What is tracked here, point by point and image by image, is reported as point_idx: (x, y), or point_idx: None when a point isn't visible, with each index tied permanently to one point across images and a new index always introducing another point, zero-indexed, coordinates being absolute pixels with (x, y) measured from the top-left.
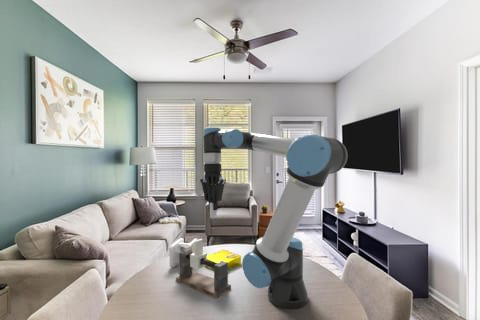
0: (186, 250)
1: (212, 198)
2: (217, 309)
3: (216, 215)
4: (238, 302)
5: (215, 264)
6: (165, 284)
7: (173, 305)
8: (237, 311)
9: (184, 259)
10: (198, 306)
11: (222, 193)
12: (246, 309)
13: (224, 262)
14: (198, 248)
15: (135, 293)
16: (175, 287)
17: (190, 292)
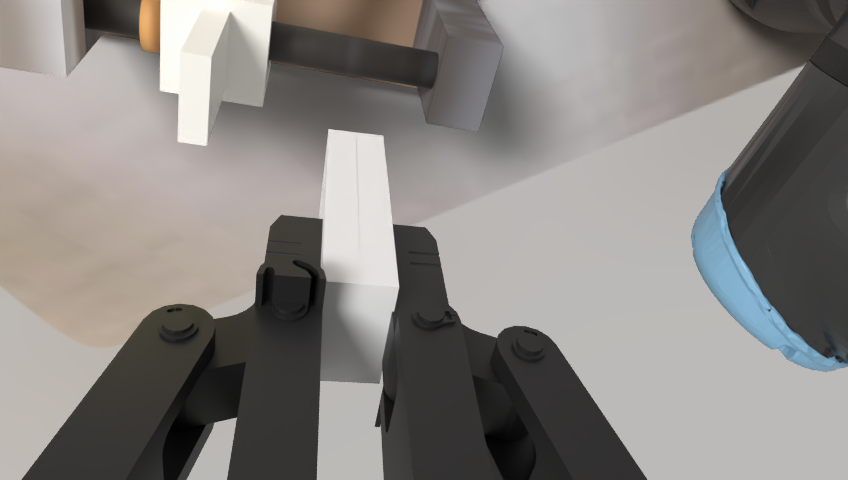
0: (74, 59)
1: (304, 363)
2: (487, 155)
3: (383, 148)
4: (563, 68)
5: (433, 115)
6: (69, 85)
7: (285, 211)
8: (578, 131)
9: (87, 43)
10: (395, 172)
11: (640, 477)
12: (614, 102)
13: (480, 59)
14: (219, 85)
15: (25, 218)
16: (155, 87)
17: (276, 94)
